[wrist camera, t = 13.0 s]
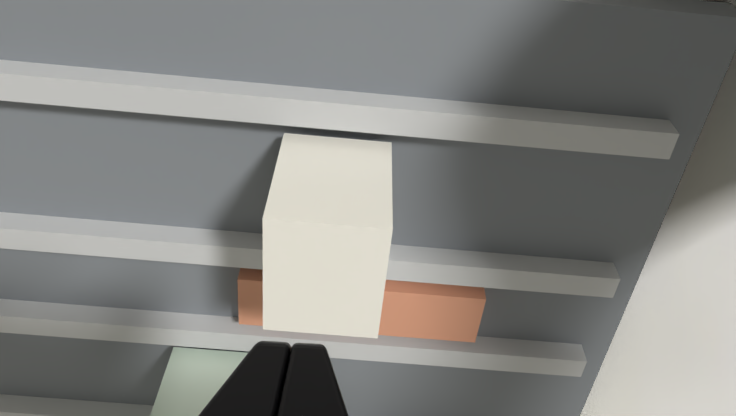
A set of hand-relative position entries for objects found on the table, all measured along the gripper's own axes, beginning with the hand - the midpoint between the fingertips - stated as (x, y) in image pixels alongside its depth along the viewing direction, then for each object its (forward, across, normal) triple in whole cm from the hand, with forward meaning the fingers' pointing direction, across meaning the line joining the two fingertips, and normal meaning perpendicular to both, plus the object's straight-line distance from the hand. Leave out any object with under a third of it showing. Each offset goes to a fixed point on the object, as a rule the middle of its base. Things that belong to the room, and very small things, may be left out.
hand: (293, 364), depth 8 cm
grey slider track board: (+12, +2, +9) cm, 15 cm away
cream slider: (+11, 0, +5) cm, 12 cm away
